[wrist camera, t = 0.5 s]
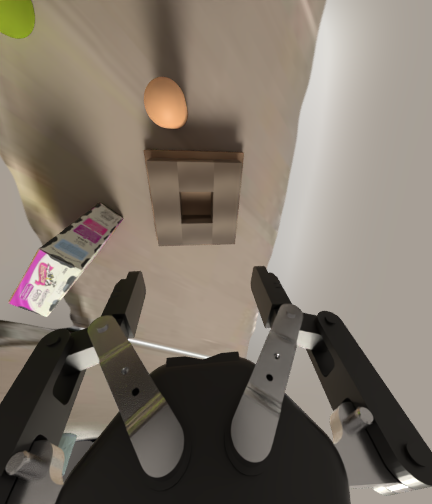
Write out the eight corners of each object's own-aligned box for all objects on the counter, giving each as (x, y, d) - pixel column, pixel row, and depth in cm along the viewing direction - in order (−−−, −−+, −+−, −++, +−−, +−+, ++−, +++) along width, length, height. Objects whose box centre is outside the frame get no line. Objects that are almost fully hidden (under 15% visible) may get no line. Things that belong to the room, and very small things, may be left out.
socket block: (145, 149, 31) (137, 152, 26) (242, 152, 33) (250, 155, 28) (158, 236, 40) (153, 250, 35) (234, 235, 41) (239, 248, 37)
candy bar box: (98, 200, 34) (37, 247, 21) (124, 217, 37) (84, 269, 23) (71, 241, 38) (4, 304, 24) (96, 255, 40) (47, 319, 27)
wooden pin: (159, 95, 28) (140, 75, 18) (187, 96, 28) (184, 78, 18) (162, 128, 30) (147, 127, 20) (188, 129, 30) (186, 128, 20)
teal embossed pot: (83, 436, 92) (69, 474, 81) (64, 441, 92) (48, 479, 82) (67, 430, 86) (51, 470, 76) (48, 436, 87) (29, 476, 77)
